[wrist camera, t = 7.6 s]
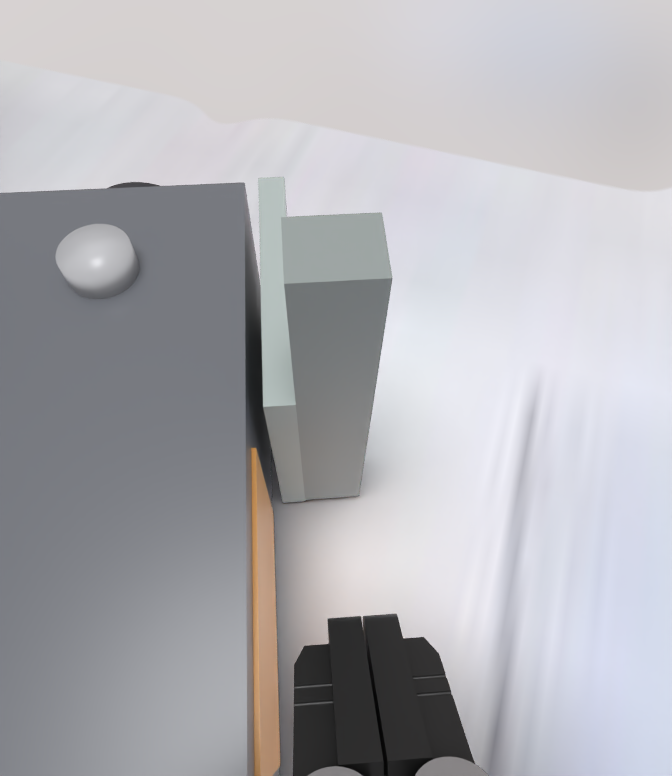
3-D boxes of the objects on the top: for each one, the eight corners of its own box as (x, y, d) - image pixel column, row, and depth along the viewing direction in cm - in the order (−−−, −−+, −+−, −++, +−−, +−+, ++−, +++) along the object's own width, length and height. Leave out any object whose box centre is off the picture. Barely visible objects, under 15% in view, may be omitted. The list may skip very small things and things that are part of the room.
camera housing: (284, 786, 21) (249, 849, 12) (9, 813, 21) (-265, 902, 11) (269, 301, 32) (245, 124, 22) (87, 311, 31) (-19, 134, 22)
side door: (358, 497, 26) (392, 278, 13) (282, 502, 26) (238, 286, 13) (340, 316, 31) (351, 21, 18) (276, 319, 31) (239, 24, 18)
